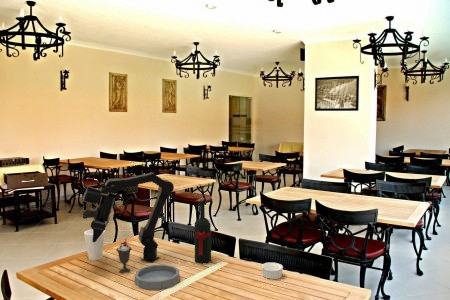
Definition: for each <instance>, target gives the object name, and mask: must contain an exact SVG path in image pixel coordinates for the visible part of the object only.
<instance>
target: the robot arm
mask: <svg viewBox="0 0 450 300" xmlns="http://www.w3.org/2000/svg"><path fill="white" fill-rule="evenodd" d="M147 183H153V184H155V185H156V186H158V188H157V197H156V199H155V202H154V205H153V207H152V210H151V212H150V215H149V217H148V219H147V223H146V224H145V225H144V227H143V226H140V227H139V228H140V229H139V232H138V233H137V235H138V241H139V242H140V243H141V245H142V246H143V250H142V254H143V258H141V259H140V260H141V262H146V263H154V262H155V261H158V260H160V259H161V258H160V257H159V256H158V247H159V244H158V243H157V241H156V240H155V231H156V230H155V229H156V226H157V224H158V222H159V219H160V217H161V214H162V211H163V208H164V206H165V204H166V201H167V200H168V199H169V197H170V196H171V195H172V193H173V191H174V189H175V186H174V183H173V182H172V181H169V179H163V178H161V177H160V176H158V175H157V174H156V173H154V172H148V173H144V174H139V175H134V176H131V177H126V178H124V177H123V178H117V177H116V178H108V179H107V180H106V181H105V183H104V185H102V186H101V187H99V188H95V187H92V186H87V188H86V190H85V192H83V193H84V194H83V197H82V202H85V203H90V204H94V205H96V204H97V203H99V204H98V206H97V207H96V208H95V209H93V208H92V209H91V208H89V209H85V210H82V216H83V219H90V218H93V220H92V221H91V222H90V223H91V224H90V229H91V230H92V229H93V241H92V242H96V240H97V239H98V238H99V237H100V235H101V234H102V233H103V232H104V230H105V231H106V228H107V226H108V225H109V222H110V219H111V218H110V215H111V212H112V209H113V205H114V202H115V200H120V197H119V194H118V192H121V191H122V190H124V189H127V188H130V187H134V186H138V185H143V184H147Z"/></svg>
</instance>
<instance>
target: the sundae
mask: <svg viewBox="0 0 450 300" xmlns="http://www.w3.org/2000/svg"><path fill="white" fill-rule="evenodd" d="M115 249H116V250H115V251H116V252H117V254H118V259H119V262H120V263H121V264H122V265H123V266H122V268H121V269H119V271H118V272H119V273H120V274H126V273H130V271H131V269H130V268H127V263H128V262H130V257H131V256H130V255H131V251H132V247H131V246H129V244H128V243H127V238H125V240H124V241H123V242H121V243H120V246H119V247H117V248H115Z"/></svg>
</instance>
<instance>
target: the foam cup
mask: <svg viewBox="0 0 450 300" xmlns="http://www.w3.org/2000/svg"><path fill="white" fill-rule="evenodd" d="M83 233H84V234H83V235H84V241H85V246H86V251H87V252H86V253H87V256H88V257H87V258H88V260H89V261H99V260H101V259H103V255H104V254H103V252H104V245H105V244H104V242H105V236H106V229H105V230H104V232H103V233H102V234H101V235H100V237H99V238H98V239H97V240H96V242H92V241H93V229H92V228H91V229H88V230H85V231H84V232H83Z"/></svg>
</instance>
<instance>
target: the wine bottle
mask: <svg viewBox="0 0 450 300" xmlns="http://www.w3.org/2000/svg"><path fill="white" fill-rule="evenodd" d="M205 206H206V205H205V197H200V198H199V218H197V219H196V220H195V222H194V263H195V264H196V263H197V264H198V265H199V264H201V265H203V263H206V264H210V263H211V262H212V239H211V238H212V236H211V235H212V231H211V228H212V227H211V226H212V225H211V221H210V220H209V219H208V218H207V217H205V215H206V213H205V212H206V211H205V209H206V208H205ZM210 261H211V262H210ZM209 262H210V263H209Z"/></svg>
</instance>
